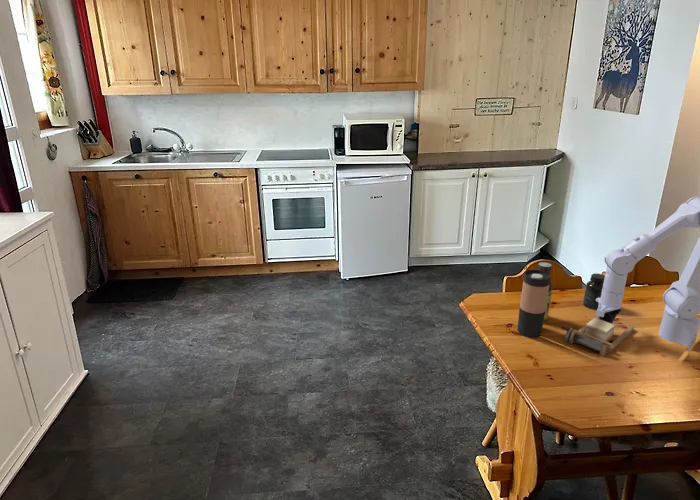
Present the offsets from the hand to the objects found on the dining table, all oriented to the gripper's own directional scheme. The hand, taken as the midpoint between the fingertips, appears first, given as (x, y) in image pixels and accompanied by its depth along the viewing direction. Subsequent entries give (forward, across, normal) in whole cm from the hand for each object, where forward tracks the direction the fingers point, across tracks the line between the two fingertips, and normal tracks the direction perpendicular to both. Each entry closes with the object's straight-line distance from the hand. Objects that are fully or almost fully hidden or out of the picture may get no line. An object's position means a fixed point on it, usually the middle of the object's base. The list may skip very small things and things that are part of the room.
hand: (604, 329), depth 151 cm
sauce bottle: (+3, +6, -19) cm, 20 cm away
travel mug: (+3, +15, -17) cm, 23 cm away
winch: (+2, +12, -1) cm, 12 cm away
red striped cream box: (+2, +5, 0) cm, 5 cm away
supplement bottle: (+3, -16, -10) cm, 19 cm away
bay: (+2, +1, 0) cm, 2 cm away
